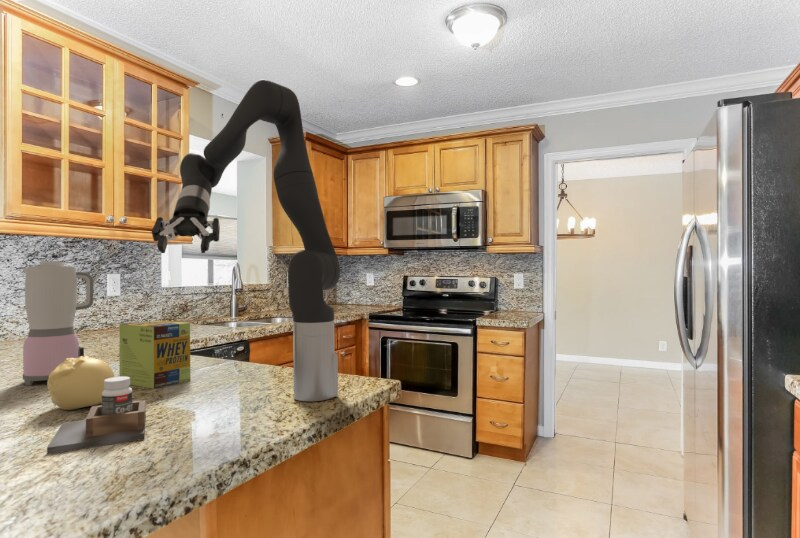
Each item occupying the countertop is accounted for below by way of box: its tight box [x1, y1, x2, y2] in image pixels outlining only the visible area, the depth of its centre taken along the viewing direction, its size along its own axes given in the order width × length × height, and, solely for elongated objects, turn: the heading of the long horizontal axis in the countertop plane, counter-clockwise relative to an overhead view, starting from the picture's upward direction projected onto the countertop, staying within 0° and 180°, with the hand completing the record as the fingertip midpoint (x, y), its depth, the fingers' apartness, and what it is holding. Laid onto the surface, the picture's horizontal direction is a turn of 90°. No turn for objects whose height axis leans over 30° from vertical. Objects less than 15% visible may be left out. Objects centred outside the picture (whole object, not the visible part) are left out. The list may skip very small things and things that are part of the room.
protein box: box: [118, 320, 191, 390], centre depth 123 cm, size 10×15×16 cm
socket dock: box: [46, 399, 147, 455], centre depth 82 cm, size 13×14×4 cm
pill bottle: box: [101, 376, 133, 416], centre depth 84 cm, size 5×5×8 cm
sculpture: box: [46, 355, 115, 411], centre depth 100 cm, size 11×12×11 cm
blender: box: [21, 260, 95, 386], centre depth 127 cm, size 16×12×32 cm
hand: (182, 250), depth 105 cm, fingers open, 8 cm apart
